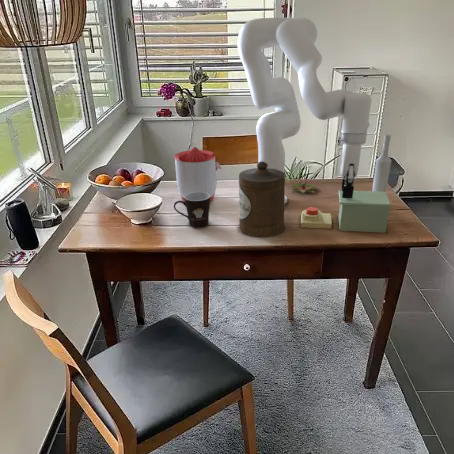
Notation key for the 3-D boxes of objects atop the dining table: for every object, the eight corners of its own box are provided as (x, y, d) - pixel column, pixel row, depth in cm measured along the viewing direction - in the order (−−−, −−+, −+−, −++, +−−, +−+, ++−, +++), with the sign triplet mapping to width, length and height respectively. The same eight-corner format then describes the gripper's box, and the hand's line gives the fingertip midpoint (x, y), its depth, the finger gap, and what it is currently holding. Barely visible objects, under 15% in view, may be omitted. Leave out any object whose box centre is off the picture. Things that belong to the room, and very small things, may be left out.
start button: (306, 215, 158) (306, 210, 157) (306, 211, 161) (307, 206, 160) (317, 216, 158) (317, 211, 157) (317, 212, 161) (317, 207, 160)
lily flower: (319, 185, 192) (320, 174, 190) (317, 195, 182) (318, 184, 180) (289, 184, 195) (290, 173, 192) (286, 194, 185) (287, 182, 182)
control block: (300, 227, 158) (301, 217, 156) (301, 216, 165) (302, 207, 163) (331, 228, 156) (332, 218, 154) (330, 218, 164) (331, 208, 162)
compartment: (339, 230, 155) (342, 205, 150) (338, 217, 164) (341, 192, 160) (385, 232, 153) (390, 206, 148) (381, 218, 162) (385, 194, 158)
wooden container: (240, 219, 165) (239, 155, 153) (282, 219, 164) (285, 155, 152) (238, 237, 152) (237, 169, 140) (284, 237, 151) (287, 169, 139)
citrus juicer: (225, 205, 176) (224, 151, 165) (178, 208, 174) (174, 154, 163) (219, 191, 189) (218, 140, 179) (176, 194, 187) (172, 142, 177)
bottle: (382, 202, 175) (394, 133, 162) (385, 208, 170) (397, 136, 157) (368, 202, 175) (378, 133, 162) (370, 207, 171) (381, 136, 158)
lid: (339, 204, 150) (341, 188, 147) (338, 192, 160) (340, 176, 157) (390, 206, 148) (393, 190, 145) (385, 193, 158) (388, 178, 155)
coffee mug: (215, 220, 164) (213, 193, 159) (206, 230, 157) (204, 202, 152) (184, 217, 167) (182, 190, 162) (174, 226, 160) (171, 198, 155)
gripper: (339, 130, 152) (334, 185, 162) (342, 144, 138) (335, 203, 147) (363, 131, 151) (356, 186, 161) (368, 144, 137) (360, 204, 146)
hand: (346, 193), depth 154 cm, fingers closed on lid, 5 cm apart
